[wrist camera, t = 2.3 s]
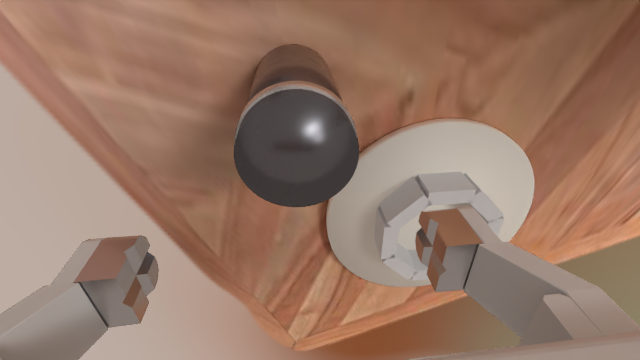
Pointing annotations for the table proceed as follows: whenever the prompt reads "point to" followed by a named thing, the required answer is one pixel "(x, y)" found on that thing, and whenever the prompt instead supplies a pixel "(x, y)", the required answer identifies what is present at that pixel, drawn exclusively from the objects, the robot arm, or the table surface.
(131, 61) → the table surface
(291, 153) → the lens
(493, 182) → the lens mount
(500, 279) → the robot arm
